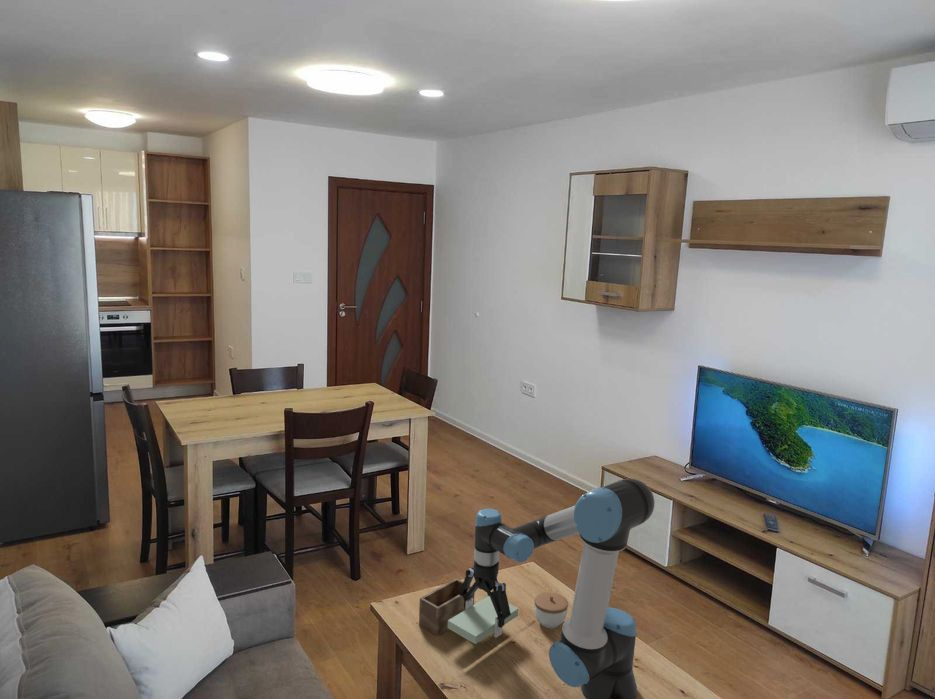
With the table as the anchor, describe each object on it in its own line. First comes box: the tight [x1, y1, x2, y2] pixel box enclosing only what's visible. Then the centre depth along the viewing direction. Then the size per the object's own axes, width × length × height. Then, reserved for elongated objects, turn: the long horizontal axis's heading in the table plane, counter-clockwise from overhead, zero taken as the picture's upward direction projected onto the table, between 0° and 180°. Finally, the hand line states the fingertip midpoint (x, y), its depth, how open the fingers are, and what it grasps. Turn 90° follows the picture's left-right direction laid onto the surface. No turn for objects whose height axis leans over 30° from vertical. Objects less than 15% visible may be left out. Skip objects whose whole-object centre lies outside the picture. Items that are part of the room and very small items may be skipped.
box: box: [418, 578, 476, 637], centre depth 213 cm, size 17×8×10 cm, turn 138°
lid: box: [448, 595, 519, 645], centre depth 203 cm, size 20×11×4 cm, turn 138°
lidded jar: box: [534, 591, 569, 629], centre depth 215 cm, size 11×11×9 cm
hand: (483, 627), depth 204 cm, fingers closed on lid, 11 cm apart
